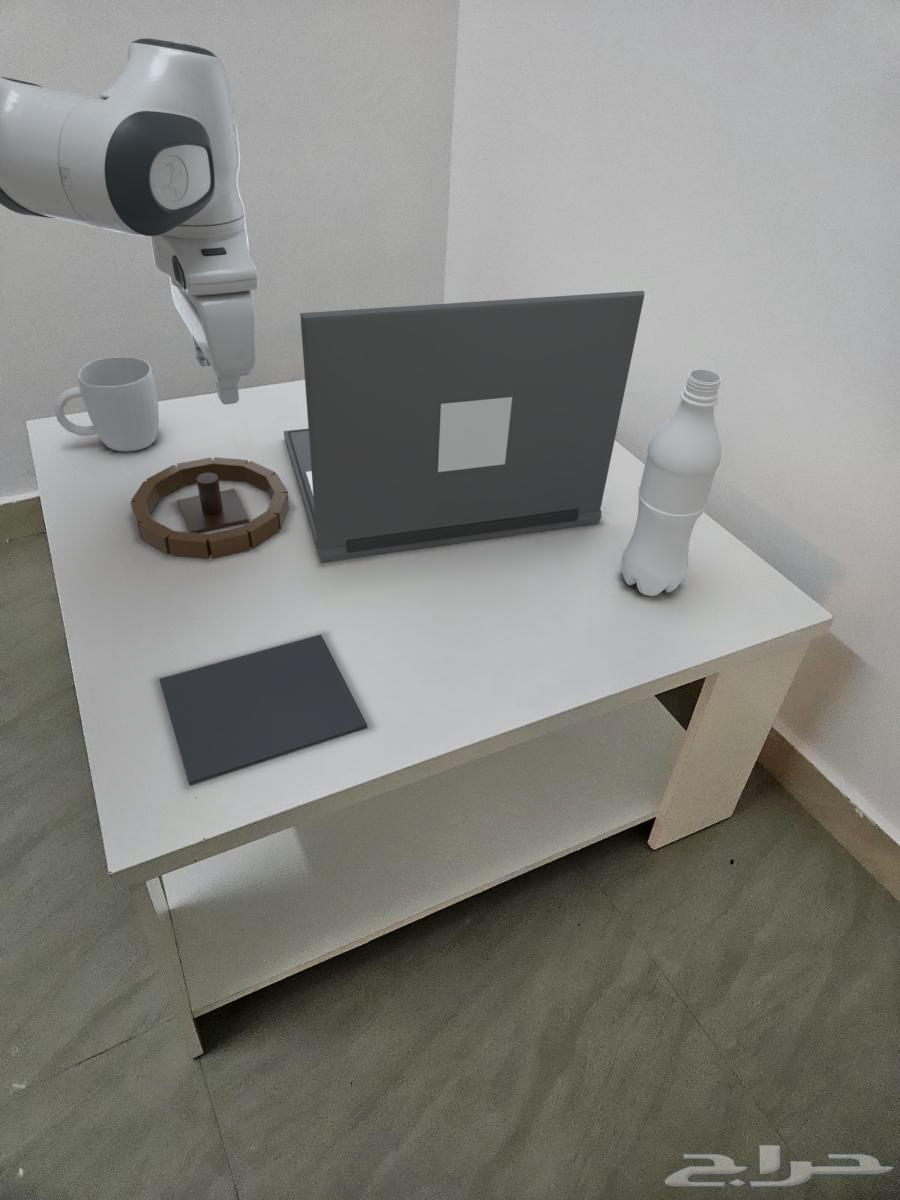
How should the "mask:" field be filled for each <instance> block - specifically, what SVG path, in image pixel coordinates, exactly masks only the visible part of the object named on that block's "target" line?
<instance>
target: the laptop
mask: <svg viewBox="0 0 900 1200" xmlns="http://www.w3.org/2000/svg"><path fill="white" fill-rule="evenodd" d="M644 298H645V291H644V290H633V291H632V290H631V291H619V292H618V291H617V292H602V293H601V292H600V293H587V294H570V295H556V296H541V297H526V298H511V299H495V300H494V299H493V300H481V301H480V300H478V301H464V302H451V303H434V304H417V305H403V306H389V307H373V308H360V309H359V308H357V309H356V308H355V309H343V310H342V309H341V310H327V311H311V312H299V314H300V315H299V317H300V330H301V343H302V357H303V372H304V373H303V374H304V385H305V398H306V412H307V414H306V415H307V425H308V426H307V427H308V428H300V429H291V430H283V437H284V440H285V444H286V448H287V451H288V454H289V457H290V461H291V465H292V469H293V472H294V476H295V478H296V482H297V485H298V489H299V493H300V496H301V499H302V503H303V506H304V511H305V513H306V518H307V520H308V525H309V527H310V531H311V534H312V538H313V542H314V544H315V548H316V552H317V555H318V558H319V560H320V562H321V563H328V562H336V561H343V560H351V559H357V558H364V557H365V558H366V557H372V556H379V555H387V554H392V553H399V552H400V553H401V552H406V551H407V552H408V551H413V550H419V549H420V550H421V549H428V548H434V547H435V548H436V547H443V546H449V545H455V544H462V543H470V542H477V541H484V540H492V539H499V538H505V537H511V536H521V535H527V534H533V533H540V532H548V531H553V530H554V531H555V530H561V529H567V528H569V529H570V528H575V527H582V526H583V527H584V526H590V525H595V524H599V523H600V520H601V519H602V509H601V508H602V504H603V500H604V499H603V498H604V494H605V489H606V484H607V479H608V475H609V469H610V466H611V465H610V464H611V460H612V455H613V450H614V446H615V440H616V436H617V431H618V426H619V420H620V415H621V410H622V406H623V402H624V398H625V391H626V386H627V382H628V377H629V372H630V368H631V362H632V358H633V354H634V349H635V343H636V339H637V335H638V334H637V333H638V328H639V323H640V319H641V314H642V308H643V305H644V300H645V299H644Z"/></svg>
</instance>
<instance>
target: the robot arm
mask: <svg viewBox="0 0 900 1200" xmlns="http://www.w3.org/2000/svg"><path fill="white" fill-rule="evenodd" d="M227 75H228V74H227V73H226V70H225V67H224V65H223V62H222V60H221V59H220V57H218V56H216V54H214V52H213V51H210V50H209V49H206V48H204V47H200V46H197V45H192V44H187V43H179V42H174V41H168V40H164V39H163V40H162V39H158V38H157V39H155V38H138V39H136V40H133V41H131V42H129V44H128V48H127V63H126V64H125V67H124V69H123V71H122V72H121V73H120V75H119V76H118V78H117V79H116V80H115V81H114V83H112V84H111V85H110V86H109V87H108V88H106V89H105V90H103V91H101V92H99V93H98V96H96V95H90V94H84V93H80V92H75V91H73V92H72V91H67V90H62V89H56V88H51V87H47V86H46V87H45V86H42V85H39V84H36V83H32V82H28V81H23V80H19V79H15V78H10V77H4V76H0V205H1V206H3V207H4V208H6V209H7V210H9V211H12V212H14V213H16V214H19V215H23V216H32V217H39V218H48V219H58V220H61V221H66V222H70V223H74V224H78V225H84V226H87V227H91V228H96V229H101V230H107V231H112V232H115V233H120V234H126V235H131V236H137V237H149V238H150V245H151V251H152V258H153V264H154V267H156V269H158V270H159V271H160V272H162V273H165V274H167V275H168V276H169V283H170V293H171V297H172V302H173V304H174V307H175V309H176V310H177V312H178V314H179V316H180V317H181V319H182V321H183V322H184V324H185V325H186V327H187V329H188V330H189V333H190V337H191V340H192V344H193V346H194V347H193V348H194V353H195V359H196V361H197V362H198V364H199V366H201V367H208V366H209V367H210V366H211V368H212V370H213V372H214V373H215V375H216V377H217V378H216V379H217V382H216V390H217V396H218V398H219V400H220V403H222V404H223V405H225V406H226V405H233V404H237V403H238V402H239V400H240V396H239V383H240V378H241V377H243V376H248V375H252V374H253V373H254V370H255V367H256V362H257V334H256V331H257V330H256V329H257V328H256V310H255V302H254V296H253V293H252V291H255V290H258V288H259V274H258V269H257V266H256V263H255V261H254V259H253V255H252V253H251V251H250V245H249V243H250V242H249V236H248V233H247V222H246V221H247V220H246V210H245V206H244V203H243V200H242V197H241V194H240V190H239V182H238V181H239V172H240V166H241V156H240V155H241V154H240V144H239V135H238V133H239V132H238V127H237V119H236V112H235V111H236V110H235V105H234V102H233V101H234V100H233V95H232V90H231V87H230V83H229V78H228V76H227Z"/></svg>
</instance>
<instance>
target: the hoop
mask: <svg viewBox="0 0 900 1200" xmlns="http://www.w3.org/2000/svg"><path fill="white" fill-rule="evenodd" d="M203 473H214V474H216V475H217V476H218V481H226V482H236V483H237V482H238V483H246V484H248V485H250V486H252V487H254V488H256V489H259V490H260V491H263V492H265V493H266V494H267V495H268V497H269V498H270V503H269V504H268V507H267V509H266V511H265V512H263V513H261V514H260V515H258V516H257V517H255V518H253V519H252V520H249V523H246V524H243V525H241V526H237V527H234V528H228V529H224V530H221V531H216V532H211V533H191V532H188V531H178V530H173V529H171V528H169V527H167V526H166V525H164V524H162V523H160V522H158V521H156V520H154V519H152V518H151V514H152V513H153V511H154V509H155V507H156V506H157V504H158V503H159V501H160V500H161V499H163V498H164V497H167V496H168V495H170V494H172V493H174V492H175V491H178V490H179V489H181V488H182V487H186V486H190V485H195V484H197V477H198V476H199V475H201V474H203ZM289 501H290V500H289V493H288V489H287V488H286V485H284V483H283V481H282V479H281V477H280V475H279V474H278V473H276V471H274V470H272V469H270V468H268V467H265V466H264V465H261V464H259V463H258V462H255V461H252V460H248V459H239V458H228V457H217V456H214V458H212V457H205V458H201V459H195V460H190V461H184V462H178V463H176V465H175V464H173V465H170V466H169V467H167V468H165V469H163V470H161V471H158V472H157V473H155V474H153V475H151V476H150V477H148V478H146V480H144V481H143V482H142V483H141V485H140V486H139V488H138V489H137V491H136V492H135V494H134V495H133V497H132V498H131V500H130V507H131V511H132V515H133V519H134V522H135V526H136V529H137V532H138V535H139V538H140V540H142V542H143V543H144V544H147V545H149V546H151V547H153V548H154V549H156V550H158V551H160V552H161V553H163V554H165V555H167V556H169V555H170V556H171V557H177V558H179V557H180V558H190V559H202V560H209V559H210V558H211V559H212V560H215V559H218V558H219V559H220V558H223V557H227V556H231V555H236V554H237V555H238V554H240V553H245V552H248V551H249V552H250V551H251V549H253V550H254V549H255V548H257V547H259V546H261V545H262V544H263V543H265V542H266V541H268V540H269V539H271V538H272V537H274V536H275V535H277V534H279V533H280V531H281V530H282V529H283V526H284V523H285V521H286V518H287V516H288V515H289V511H290V502H289Z"/></svg>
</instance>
